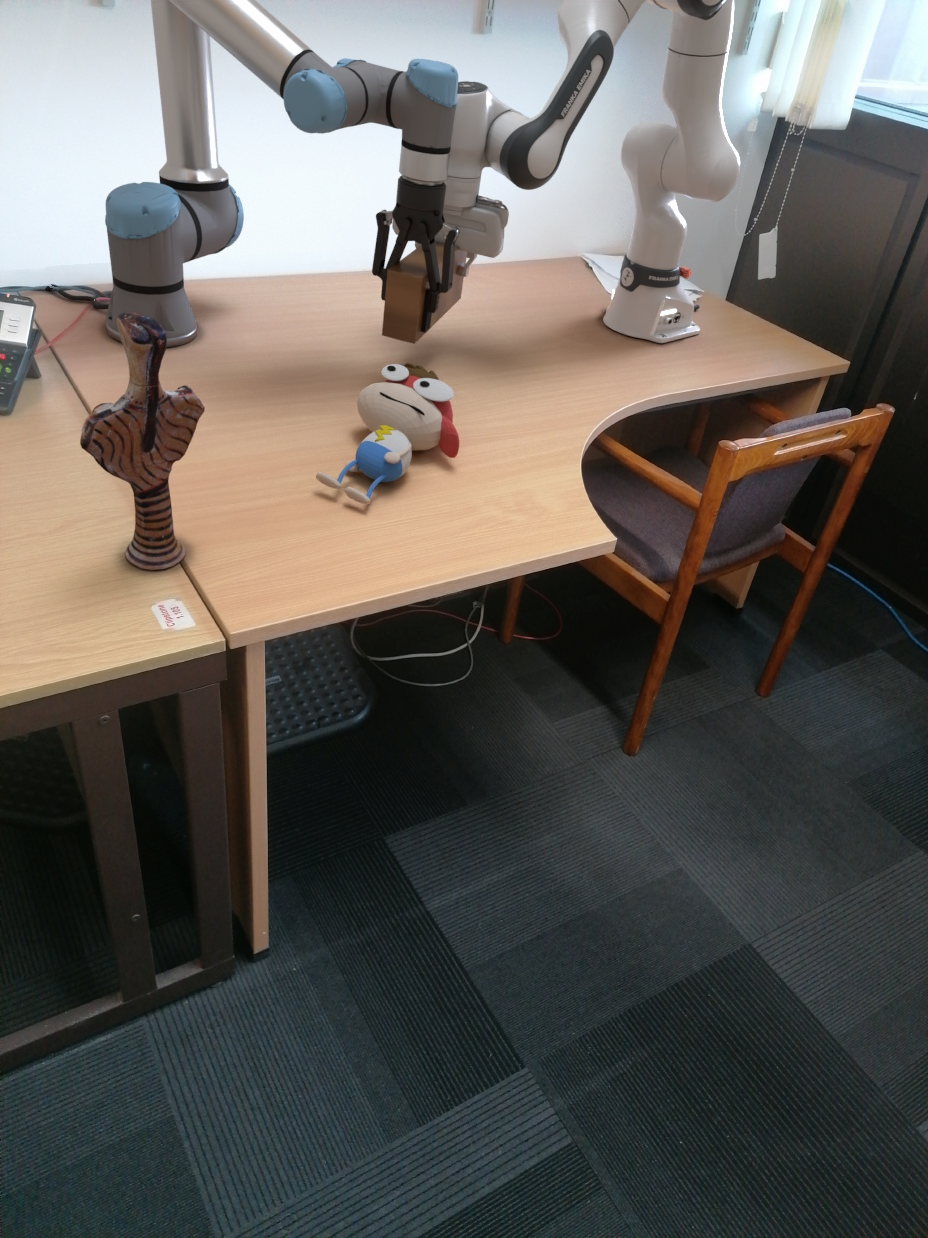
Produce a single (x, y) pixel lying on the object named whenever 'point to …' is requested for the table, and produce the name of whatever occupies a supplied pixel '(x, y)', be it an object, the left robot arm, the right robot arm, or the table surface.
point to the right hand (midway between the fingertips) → (443, 270)
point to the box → (416, 294)
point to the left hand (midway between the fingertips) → (407, 324)
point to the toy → (399, 425)
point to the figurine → (145, 440)
